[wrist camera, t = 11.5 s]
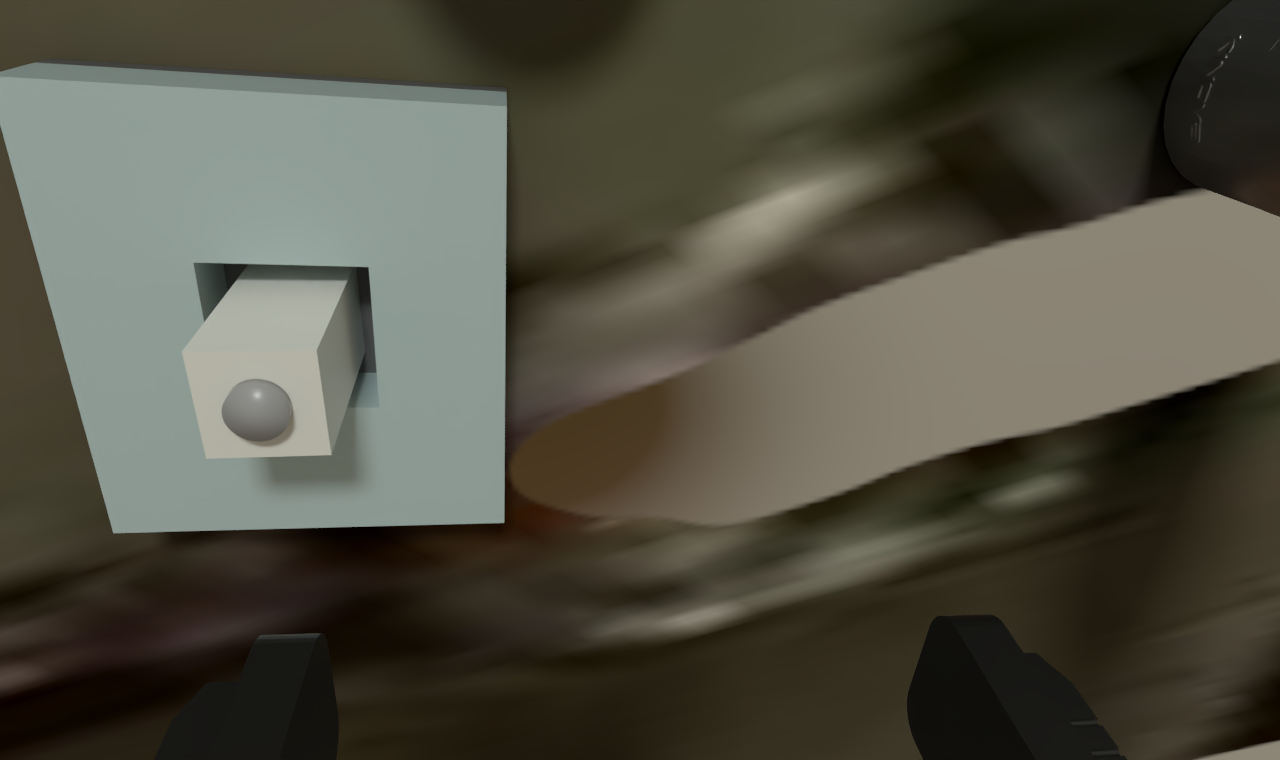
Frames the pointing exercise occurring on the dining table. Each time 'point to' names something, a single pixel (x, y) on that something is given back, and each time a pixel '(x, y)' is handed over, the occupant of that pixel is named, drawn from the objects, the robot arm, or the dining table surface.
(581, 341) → the dining table surface
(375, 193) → the outlet block
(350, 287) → the cream block with knob
